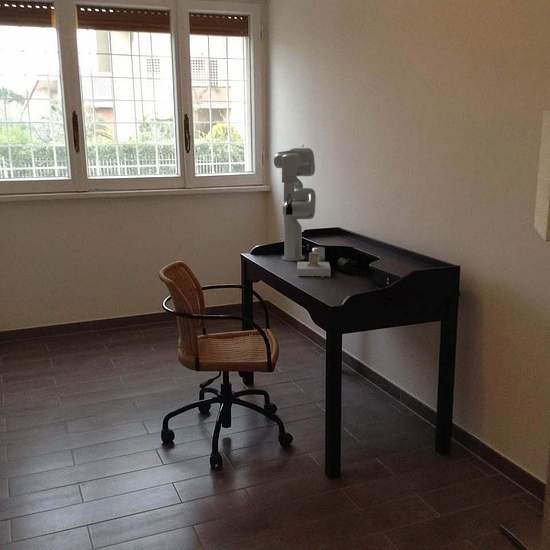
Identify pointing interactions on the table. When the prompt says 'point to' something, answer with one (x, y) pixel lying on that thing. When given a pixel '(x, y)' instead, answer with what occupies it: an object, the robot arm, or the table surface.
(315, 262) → the square peg
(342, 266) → the end cap
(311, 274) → the socket block
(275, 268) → the table surface
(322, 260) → the grey block
